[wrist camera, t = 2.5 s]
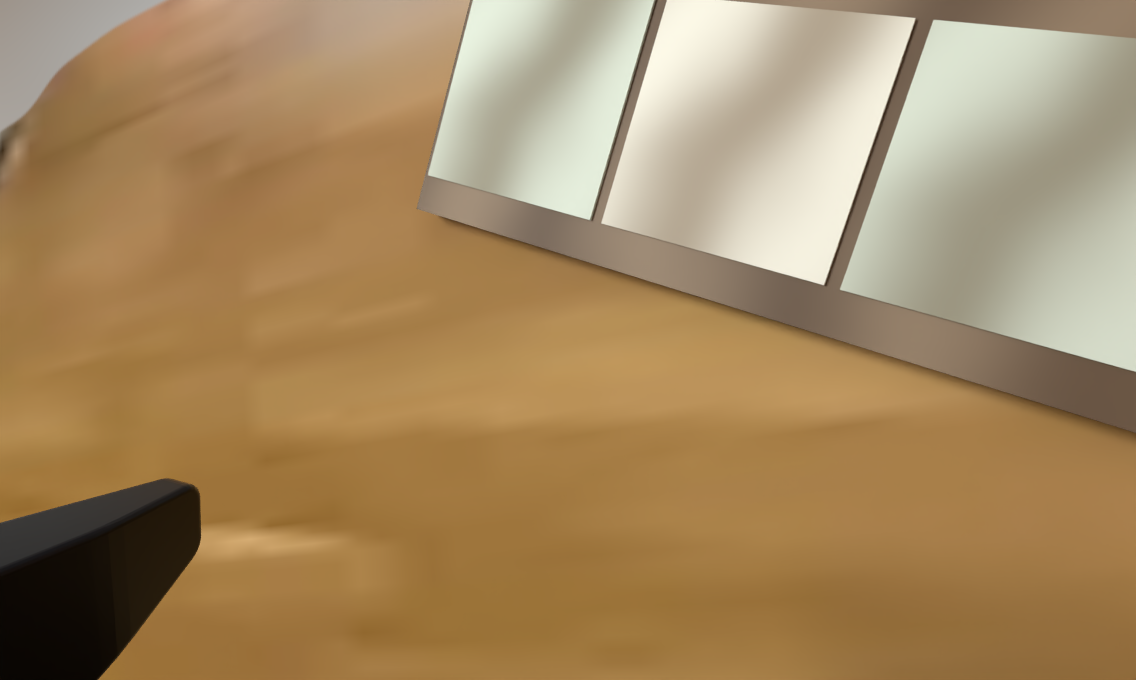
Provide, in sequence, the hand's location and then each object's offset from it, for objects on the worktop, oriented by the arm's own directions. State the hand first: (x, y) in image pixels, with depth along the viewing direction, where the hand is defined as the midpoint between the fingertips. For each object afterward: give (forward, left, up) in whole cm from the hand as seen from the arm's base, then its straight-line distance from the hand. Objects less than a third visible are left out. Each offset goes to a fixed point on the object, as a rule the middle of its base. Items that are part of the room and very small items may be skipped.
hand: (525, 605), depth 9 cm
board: (+3, -8, -12) cm, 15 cm away
